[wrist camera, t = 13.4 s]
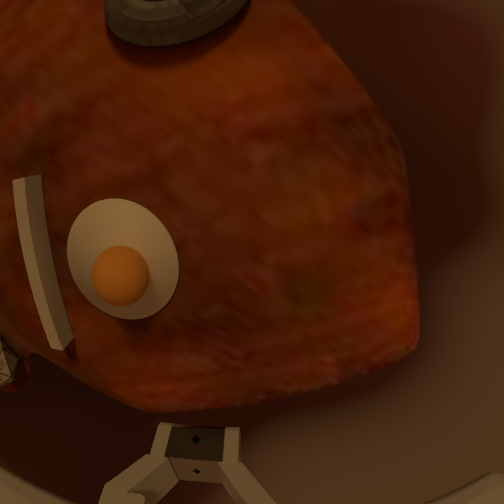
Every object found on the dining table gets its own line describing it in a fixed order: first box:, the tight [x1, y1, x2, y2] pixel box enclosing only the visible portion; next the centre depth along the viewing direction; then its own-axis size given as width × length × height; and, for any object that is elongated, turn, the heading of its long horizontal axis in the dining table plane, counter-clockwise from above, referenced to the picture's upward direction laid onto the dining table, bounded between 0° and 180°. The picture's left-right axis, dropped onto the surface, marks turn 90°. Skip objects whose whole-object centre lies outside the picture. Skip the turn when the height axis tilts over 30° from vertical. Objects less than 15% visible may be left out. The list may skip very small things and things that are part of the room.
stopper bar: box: [13, 175, 74, 350], centre depth 26 cm, size 2×20×3 cm, turn 1°
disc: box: [67, 199, 179, 319], centre depth 27 cm, size 13×13×1 cm
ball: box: [91, 245, 149, 306], centre depth 25 cm, size 6×6×6 cm
